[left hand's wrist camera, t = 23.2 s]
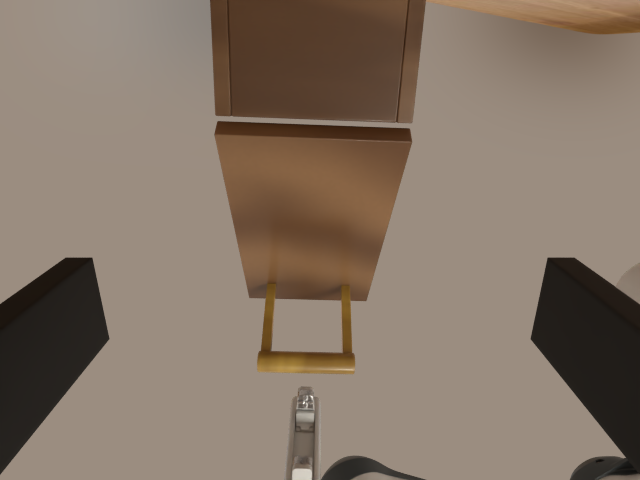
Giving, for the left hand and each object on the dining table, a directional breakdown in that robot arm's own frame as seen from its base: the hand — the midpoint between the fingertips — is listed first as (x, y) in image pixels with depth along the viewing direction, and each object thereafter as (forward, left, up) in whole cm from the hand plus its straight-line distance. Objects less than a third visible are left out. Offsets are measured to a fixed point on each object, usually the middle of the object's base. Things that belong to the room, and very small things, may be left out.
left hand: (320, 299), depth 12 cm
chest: (+13, -15, -15) cm, 25 cm away
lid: (+11, -13, +3) cm, 17 cm away
